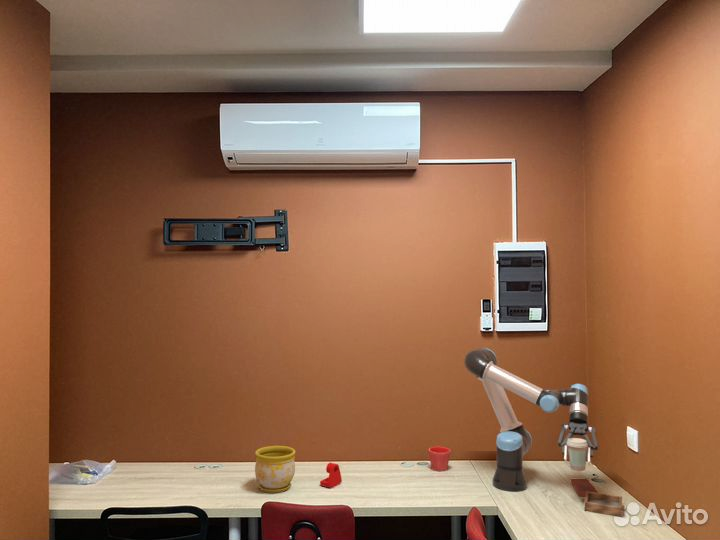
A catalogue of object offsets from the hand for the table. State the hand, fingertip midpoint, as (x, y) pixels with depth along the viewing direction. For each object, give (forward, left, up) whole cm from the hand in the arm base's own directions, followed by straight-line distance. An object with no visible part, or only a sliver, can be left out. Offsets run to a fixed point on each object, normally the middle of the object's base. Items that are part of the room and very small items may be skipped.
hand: (577, 461), depth 230 cm
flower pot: (-66, +20, -19) cm, 72 cm away
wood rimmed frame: (+10, +3, -19) cm, 21 cm away
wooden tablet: (+2, +26, -19) cm, 32 cm away
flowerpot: (-125, -39, -19) cm, 132 cm away
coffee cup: (0, +3, -4) cm, 5 cm away
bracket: (-104, -24, -19) cm, 109 cm away
